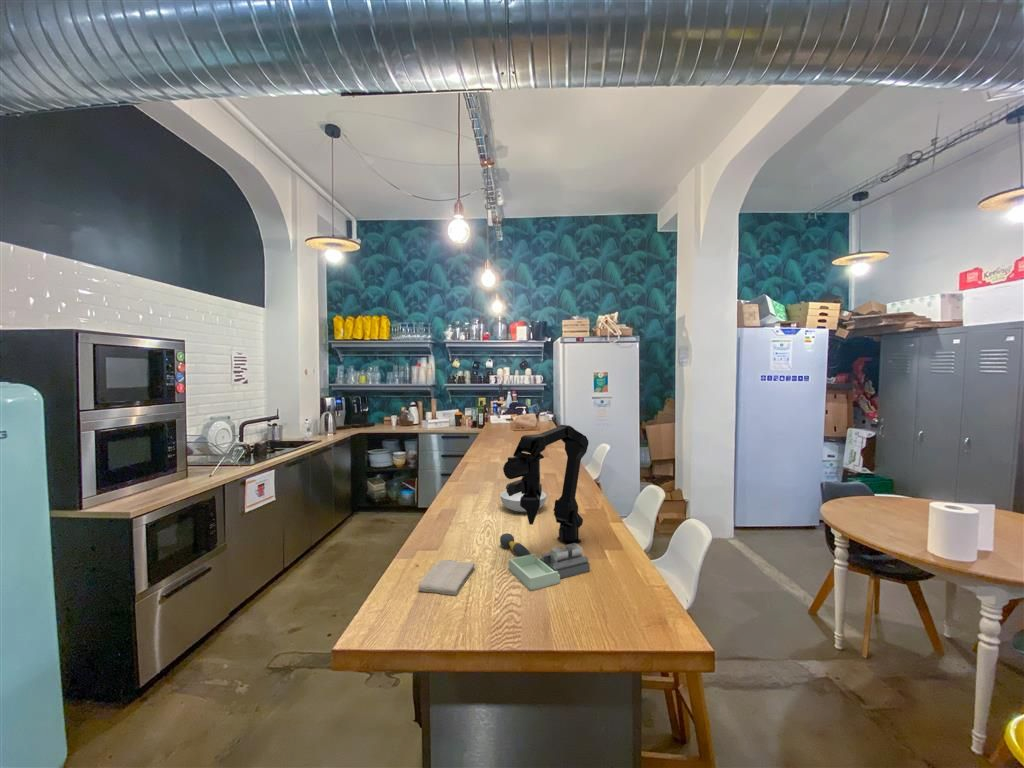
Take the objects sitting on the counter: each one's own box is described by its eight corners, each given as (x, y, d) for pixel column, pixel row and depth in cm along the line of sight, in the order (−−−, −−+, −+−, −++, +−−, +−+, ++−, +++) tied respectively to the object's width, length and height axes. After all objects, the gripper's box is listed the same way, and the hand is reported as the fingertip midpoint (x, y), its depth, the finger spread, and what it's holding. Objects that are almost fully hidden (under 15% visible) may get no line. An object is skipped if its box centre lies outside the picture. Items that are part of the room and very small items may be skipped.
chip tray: (536, 563, 136) (536, 553, 136) (559, 582, 124) (559, 571, 124) (508, 570, 132) (508, 559, 132) (530, 590, 119) (530, 578, 119)
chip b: (561, 558, 135) (561, 546, 135) (568, 563, 131) (568, 550, 131) (550, 560, 133) (550, 548, 133) (557, 566, 129) (557, 553, 129)
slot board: (571, 558, 140) (571, 546, 140) (589, 571, 131) (589, 558, 131) (540, 566, 135) (540, 553, 135) (557, 579, 126) (557, 566, 126)
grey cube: (575, 555, 137) (575, 542, 137) (582, 559, 134) (582, 547, 133) (565, 557, 135) (565, 545, 135) (572, 562, 132) (572, 549, 132)
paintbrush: (541, 560, 139) (541, 545, 139) (529, 564, 136) (529, 549, 136) (504, 541, 155) (504, 528, 155) (493, 545, 152) (493, 531, 151)
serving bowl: (547, 517, 181) (547, 501, 181) (499, 516, 181) (499, 501, 181) (544, 502, 202) (544, 488, 202) (501, 502, 202) (501, 487, 202)
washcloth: (476, 569, 134) (476, 559, 134) (457, 598, 116) (457, 587, 116) (441, 565, 136) (441, 556, 136) (417, 593, 119) (417, 583, 119)
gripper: (510, 466, 150) (511, 509, 151) (503, 480, 132) (504, 529, 132) (541, 466, 149) (542, 510, 150) (539, 481, 131) (540, 530, 131)
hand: (531, 519), depth 141 cm, fingers open, 9 cm apart
